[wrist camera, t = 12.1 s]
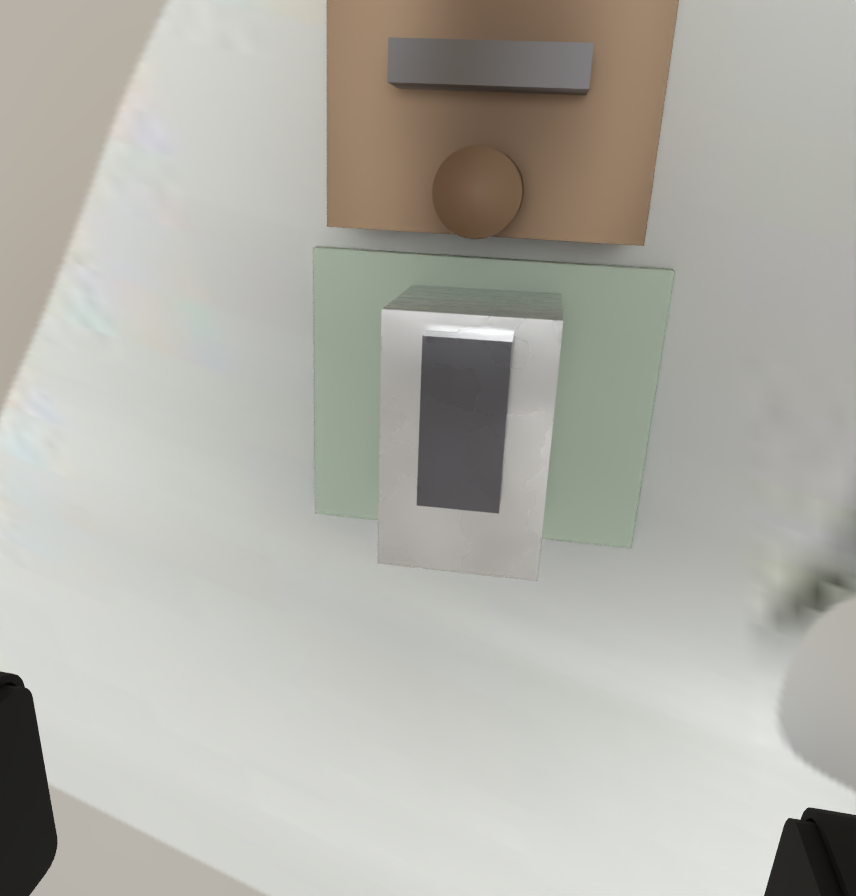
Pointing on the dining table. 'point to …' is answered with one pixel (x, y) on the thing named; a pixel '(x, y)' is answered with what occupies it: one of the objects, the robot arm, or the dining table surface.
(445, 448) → the lever cap
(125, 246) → the dining table surface
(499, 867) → the dining table surface
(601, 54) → the plane body
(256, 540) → the dining table surface
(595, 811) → the dining table surface
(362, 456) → the mat
